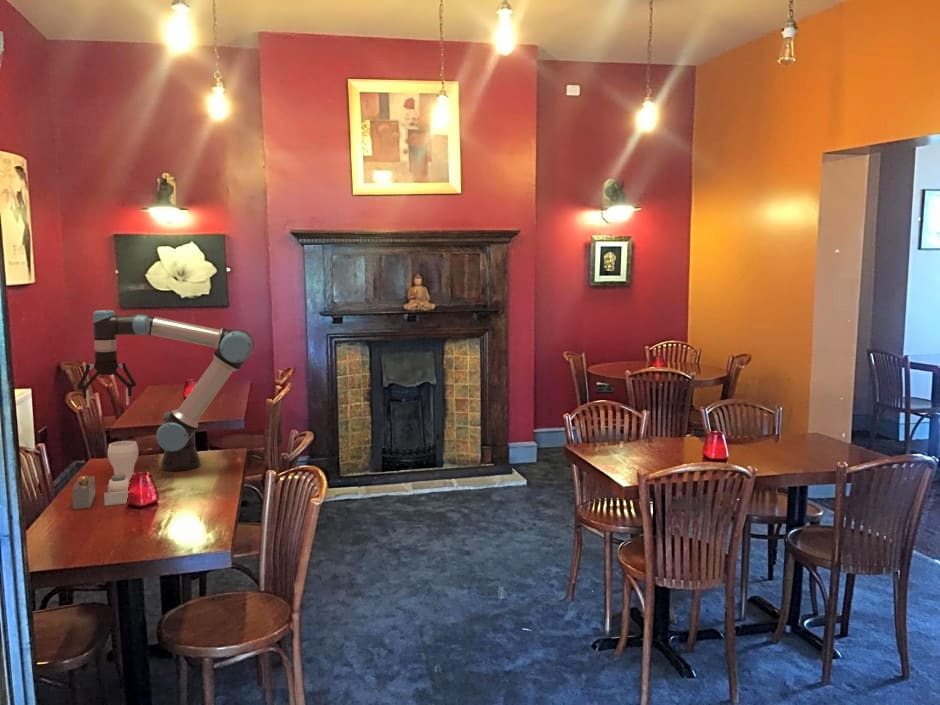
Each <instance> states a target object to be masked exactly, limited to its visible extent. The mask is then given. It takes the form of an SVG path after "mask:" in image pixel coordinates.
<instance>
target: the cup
mask: <svg viewBox="0 0 940 705" xmlns="http://www.w3.org/2000/svg"><path fill="white" fill-rule="evenodd" d="M107 458H108V461H109V463H110V465H111V466H112V468H113V474H114V475H125V477H126V478H128V482H129V480H130V478H131V476H132V474H134V475H135V472H134V471H135V464H136V462H137V461H138V458H139V446H138V444H137V441H135V440H134V441H133V440H121V441H119V440H118V441H114V442H111V443H109V444H108V448H107ZM114 475H113V476H114Z"/></svg>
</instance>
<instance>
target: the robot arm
mask: <svg viewBox="0 0 940 705" xmlns="http://www.w3.org/2000/svg"><path fill="white" fill-rule="evenodd" d="M92 314H93V318H92V319H93V320H92V326H93V344H94V351H95V352H94V364H91V363H87V364H86V365H85V371H84V373H83V375H82V376H81V379H80V381H79V383H78V384H77V389H78V390H82V397H83V399H86V408H90V407H91V398H90V397H91V396H90V389H88V388H89V387H90V385H91V384H92V383H93V382H94V381H95V379H96V378H97V377H98V376H99V375H101V376H112V375H114V376H115V377H116V378H117V379H118V380H120V381H121V383H122V384H124V385H125V386H126V388H125V404H126V406H129V404H130V397H131V396H132V394H133V392H132V388H133V387H136V386H137V382H136V381H135V379H134V377H133V375H132V374H131V372H130V371H129V368H128V366H127V363H126V362H124V361H123V362H121V363H118V355H117V354H118V353H117V351H116V350H117V336H142V335H143V336H144V335H150V336H155V337H160V338H164V339H165V338H166V339H170V340H174V341H175V340H176V341H179V342H180V341H181V342H184V343H185V342H186V343H191V344H195V345H199V346H204V347H205V346H206V347H209V348H210V347H211V348H214V349H215V351H214V352H212V356H213V360H212V362H211V363H210V365H208V367H207V368H206V369H205V371H204V373H203V374H202V376H201V377H200V378H199V379H198V381H197V382H196V384H195V385H194V387H193V388H192V389H191V391H190V392H189V394H188V395H187V396H186V398H185V399H184V401H183V402H182V403H181V404H180V406H179V407H178V408H177V409H173V410H171V411H170V412H169V411H168V412H164V414H163V423H162V424H161V425H160V426H159V427H158V428H157V430H156V435H155V439H156V443H157V445H158V446H159V447H160V448H161V449H162V450H163V451H164V452H163V456H162V459H161V462H160V469H161V470H162V471H166V472H183V471H190V470H194V469H197V468H199V467H201V458H200V456H199V453H198V451H197V448H196V435H195V434H196V431H197V429H198V427H199V422H198V421H199V420H200V418H201V417H202V415H203V414H204V412H205V411H206V409H208V408H209V407H208V406H210V404H211V403H212V401H213V400H214V398H216V396H217V394H218V393H219V391H221V389H222V387H223V386H224V384H225V383H226V382H227V381H228V379H229V377H230V376H231V375H232V374H233V372H235V371H239V370H240V369H241V367H242V366H243V365H244V363H245V362H246V360H247V359H249V357H250V355H251V354H252V353H253V350H254V347H255V342H254V338H253V336H252V335H251V334H250V333H249V332H248V331H245V330H243V329H233V328H225V327H221V328H219V329H218V328H213V327H207V326H203V325H197V324H192V323H187V322H182V321H178V320H173V319H169V318H164V317H158V316H153V315H148V314H146V313H141V312H140V313H136V314H132V315H131V314H130V315H119V314H118V315H116V312H115V311H114V310H112V309H111V310H110V309H109V310H107V309H106V310H105V309H104V310H103V309H102V310H100V309H99V310H95V311H94V312H93V313H92ZM118 368H120V369H122V370H123V372H124V373H125V375H126V377H127V379H128V380H129V381H128V380H127V379H126V378H125V377H124V376H123V375H122V374H120V372H119V371H118ZM93 369H95V371H96V372H95V374H93V376H92V377H91V378H90V379H89V380H88V381H87V383H86V384H85V385H84V383H85V381H86V379H87V377H88V375H89V373H90V371H91V370H93Z"/></svg>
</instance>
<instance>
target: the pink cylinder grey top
mask: <svg viewBox="0 0 940 705" xmlns="http://www.w3.org/2000/svg"><path fill="white" fill-rule="evenodd" d="M108 484H109V490H110V492H118V491H128V478H126V477H125V475H112V476H111V478H110V479H109V480H108Z"/></svg>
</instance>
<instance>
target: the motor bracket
mask: <svg viewBox="0 0 940 705" xmlns="http://www.w3.org/2000/svg"><path fill="white" fill-rule="evenodd" d="M129 484H130V482H128V487H129ZM128 493H129V491H118V492H110V490H109V483H107V492H104V493H103V494H104V495H103V496H104V506H107V507H108V506H115V505H117V506H118V505H124V504H126V503H127V498H128ZM71 494H72V495H71V497H72V510H81V509H90V508H91V506H92V503H93V501H94V499H95V496H96V485H95V476H94V475H92V476H90V475H80V476H78V478H77V480H76V481H75V483H74V485H73V486H72V489H71ZM127 504H128V503H127ZM127 504H126V505H127Z"/></svg>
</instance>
